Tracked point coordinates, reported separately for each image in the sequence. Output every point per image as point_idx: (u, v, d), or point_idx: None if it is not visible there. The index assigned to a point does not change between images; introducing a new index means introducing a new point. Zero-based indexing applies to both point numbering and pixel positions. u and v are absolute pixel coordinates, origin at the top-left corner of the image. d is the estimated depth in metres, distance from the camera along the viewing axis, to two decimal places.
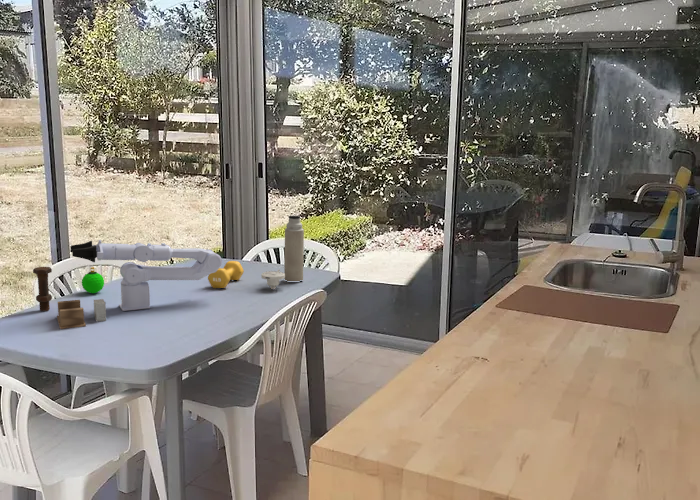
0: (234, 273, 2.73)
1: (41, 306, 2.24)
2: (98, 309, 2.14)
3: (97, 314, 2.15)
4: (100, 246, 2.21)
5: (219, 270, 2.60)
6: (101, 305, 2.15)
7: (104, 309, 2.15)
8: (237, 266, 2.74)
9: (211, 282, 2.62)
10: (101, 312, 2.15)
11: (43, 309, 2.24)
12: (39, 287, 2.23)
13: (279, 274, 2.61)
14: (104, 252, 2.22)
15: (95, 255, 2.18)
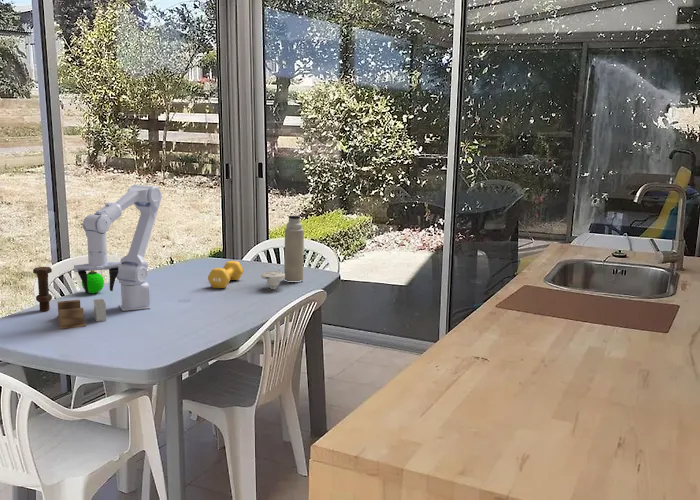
0: (234, 273, 2.73)
1: (41, 306, 2.24)
2: (98, 309, 2.14)
3: (97, 314, 2.15)
4: (107, 266, 2.14)
5: (219, 270, 2.60)
6: (101, 305, 2.15)
7: (104, 309, 2.15)
8: (237, 266, 2.74)
9: (211, 282, 2.61)
10: (101, 312, 2.15)
11: (43, 309, 2.24)
12: (39, 287, 2.23)
13: (279, 274, 2.61)
14: (106, 261, 2.16)
15: (117, 269, 2.18)
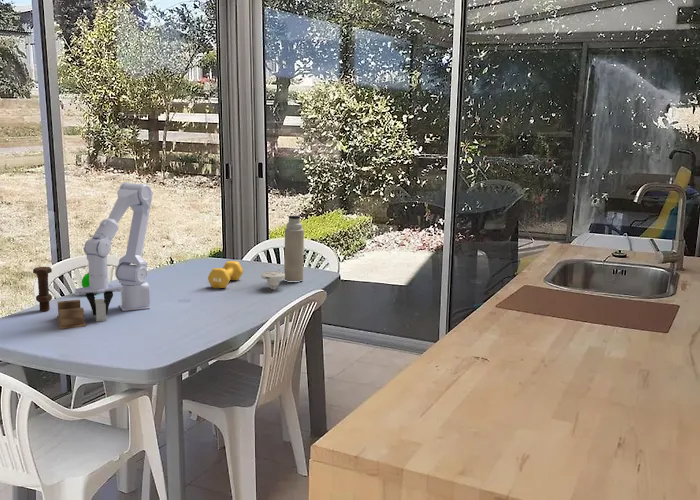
0: (234, 273, 2.73)
1: (41, 306, 2.24)
2: (98, 309, 2.14)
3: (97, 314, 2.15)
4: (108, 289, 2.16)
5: (219, 270, 2.60)
6: (101, 305, 2.15)
7: (104, 309, 2.15)
8: (237, 266, 2.74)
9: (211, 282, 2.61)
10: (101, 312, 2.15)
11: (43, 309, 2.24)
12: (39, 287, 2.23)
13: (279, 274, 2.61)
14: (107, 284, 2.17)
15: None
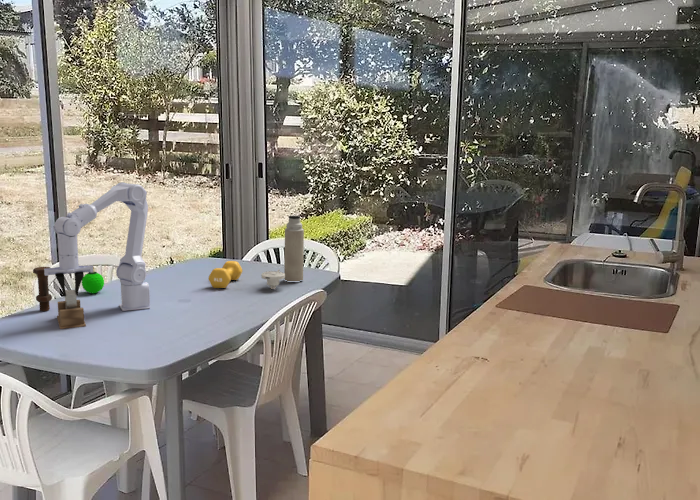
0: (233, 273, 2.73)
1: (41, 306, 2.24)
2: (69, 300, 2.10)
3: (67, 305, 2.10)
4: (79, 269, 2.10)
5: (220, 270, 2.60)
6: (72, 296, 2.10)
7: (75, 300, 2.10)
8: (237, 266, 2.74)
9: (212, 282, 2.61)
10: (72, 303, 2.10)
11: (43, 309, 2.24)
12: (39, 287, 2.23)
13: (279, 274, 2.61)
14: (78, 264, 2.12)
15: None
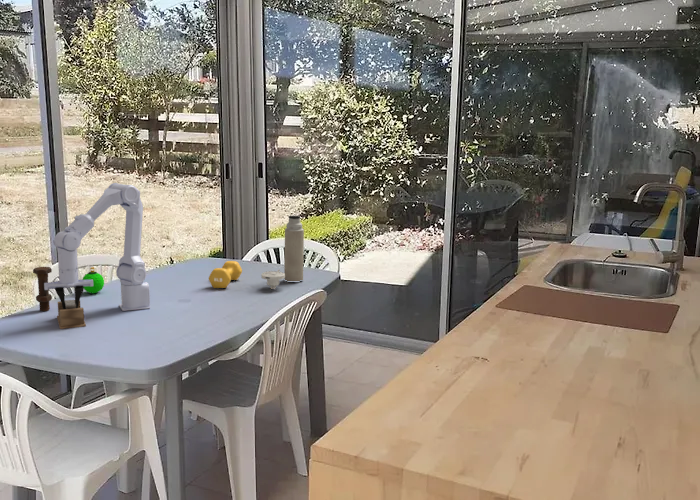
0: (233, 273, 2.73)
1: (41, 306, 2.24)
2: None
3: None
4: (78, 283, 2.11)
5: (220, 270, 2.60)
6: (71, 306, 2.10)
7: None
8: (236, 266, 2.74)
9: (212, 282, 2.61)
10: None
11: (43, 309, 2.24)
12: (39, 287, 2.23)
13: (279, 274, 2.61)
14: None
15: (82, 287, 2.14)
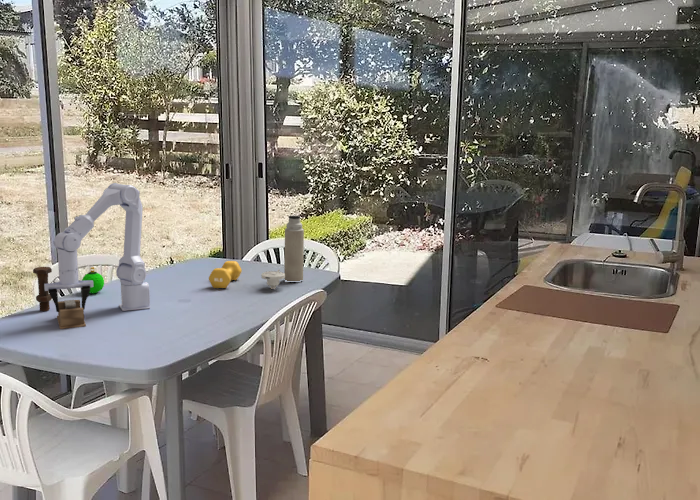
0: (233, 273, 2.74)
1: (41, 306, 2.24)
2: None
3: None
4: (78, 284, 2.11)
5: (220, 270, 2.60)
6: (71, 306, 2.10)
7: None
8: (236, 266, 2.74)
9: (212, 282, 2.61)
10: None
11: (43, 309, 2.24)
12: (39, 287, 2.23)
13: (279, 274, 2.61)
14: None
15: (89, 287, 2.15)
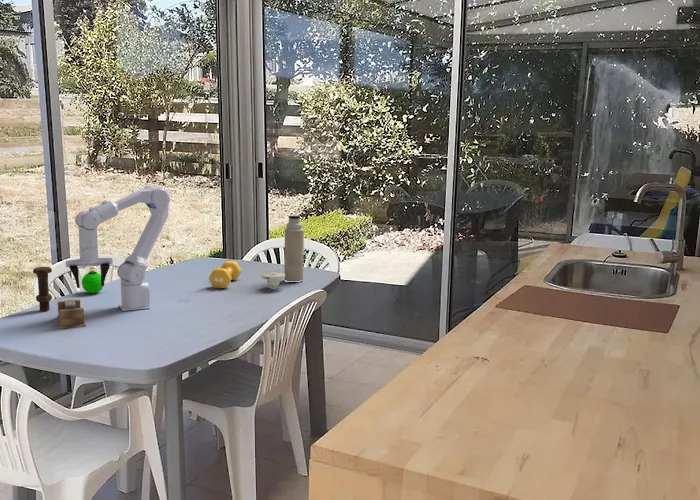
0: (232, 273, 2.74)
1: (41, 306, 2.24)
2: None
3: None
4: (98, 261, 2.18)
5: (221, 270, 2.60)
6: (71, 306, 2.10)
7: None
8: (236, 266, 2.74)
9: (213, 282, 2.61)
10: None
11: (43, 309, 2.24)
12: (39, 287, 2.23)
13: (279, 274, 2.61)
14: None
15: (108, 265, 2.22)
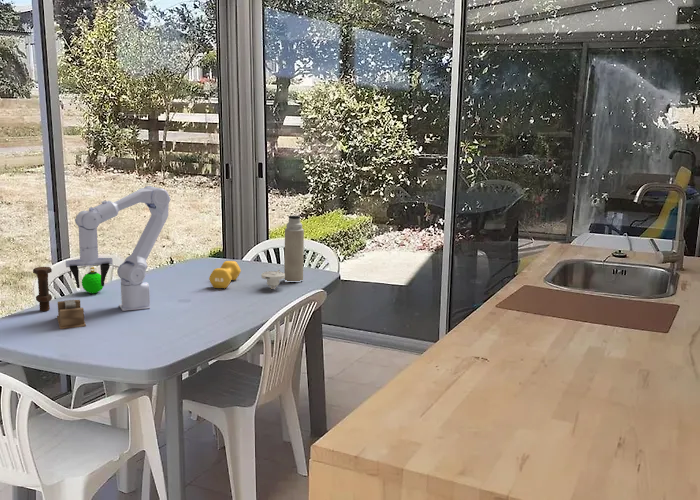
0: (232, 273, 2.74)
1: (41, 306, 2.24)
2: None
3: None
4: (98, 261, 2.18)
5: (221, 270, 2.60)
6: (71, 306, 2.10)
7: None
8: (235, 266, 2.74)
9: (213, 282, 2.61)
10: None
11: (43, 309, 2.24)
12: (39, 287, 2.23)
13: (279, 274, 2.61)
14: None
15: (108, 265, 2.22)
